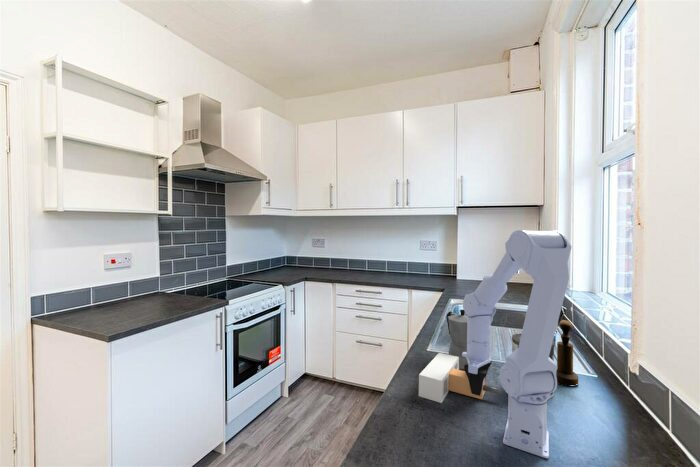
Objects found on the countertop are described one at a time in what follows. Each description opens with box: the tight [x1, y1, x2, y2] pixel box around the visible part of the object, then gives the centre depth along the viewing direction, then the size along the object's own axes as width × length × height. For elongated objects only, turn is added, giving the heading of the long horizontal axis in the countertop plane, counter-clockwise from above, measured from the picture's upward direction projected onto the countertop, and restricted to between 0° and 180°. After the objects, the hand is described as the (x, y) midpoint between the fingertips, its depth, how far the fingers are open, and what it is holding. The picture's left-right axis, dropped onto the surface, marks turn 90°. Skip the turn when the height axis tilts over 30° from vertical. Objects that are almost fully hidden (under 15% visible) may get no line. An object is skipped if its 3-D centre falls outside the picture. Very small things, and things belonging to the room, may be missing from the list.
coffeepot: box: [445, 309, 469, 371], centre depth 104 cm, size 15×9×18 cm, turn 15°
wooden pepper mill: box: [556, 319, 579, 386], centre depth 92 cm, size 7×6×18 cm
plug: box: [449, 368, 501, 400], centre depth 84 cm, size 4×13×4 cm, turn 58°
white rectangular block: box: [418, 352, 460, 404], centre depth 89 cm, size 18×6×6 cm, turn 148°
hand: (477, 390), depth 83 cm, fingers closed on plug, 4 cm apart
